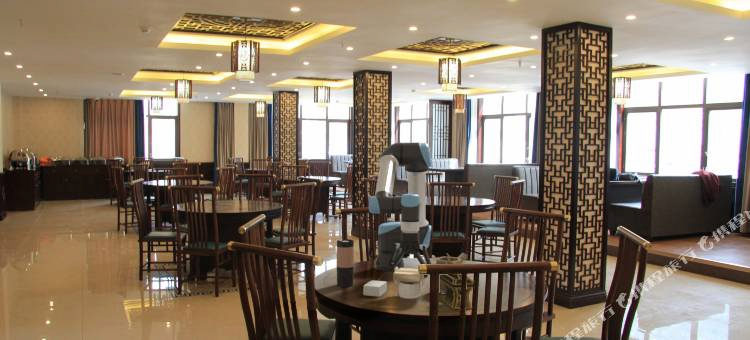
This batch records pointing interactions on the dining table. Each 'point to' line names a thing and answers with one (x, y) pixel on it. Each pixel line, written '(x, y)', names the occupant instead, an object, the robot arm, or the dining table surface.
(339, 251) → the travel mug
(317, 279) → the dining table surface
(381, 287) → the white rectangular block
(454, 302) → the decorative box
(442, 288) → the tankard
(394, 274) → the lid
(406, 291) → the bowl
